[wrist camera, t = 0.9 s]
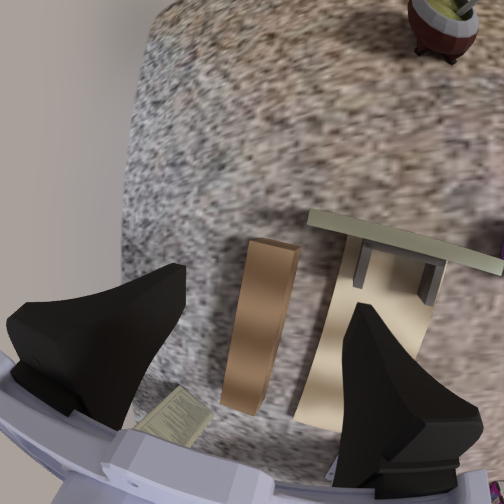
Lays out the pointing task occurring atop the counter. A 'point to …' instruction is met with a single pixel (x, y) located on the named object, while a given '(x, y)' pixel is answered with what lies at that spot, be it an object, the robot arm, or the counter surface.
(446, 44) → the mate gourd
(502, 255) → the kendama
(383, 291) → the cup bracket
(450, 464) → the robot arm
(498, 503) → the candy bar box
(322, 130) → the counter surface
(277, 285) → the rail
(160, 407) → the skincare box
